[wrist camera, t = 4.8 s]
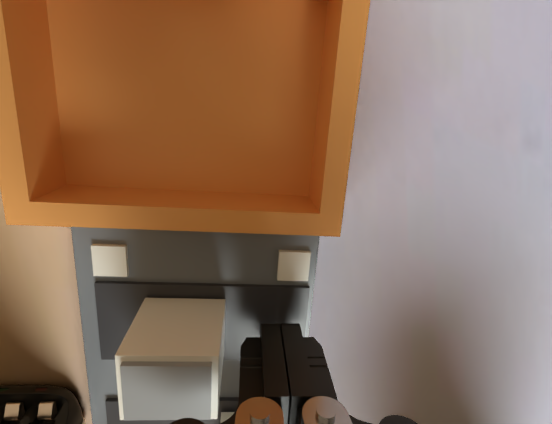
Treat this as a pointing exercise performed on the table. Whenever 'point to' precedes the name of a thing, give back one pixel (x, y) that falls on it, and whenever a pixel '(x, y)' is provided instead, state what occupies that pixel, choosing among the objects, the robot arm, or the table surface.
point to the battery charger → (38, 405)
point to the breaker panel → (186, 293)
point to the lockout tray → (179, 113)
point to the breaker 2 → (225, 416)
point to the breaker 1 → (172, 360)
